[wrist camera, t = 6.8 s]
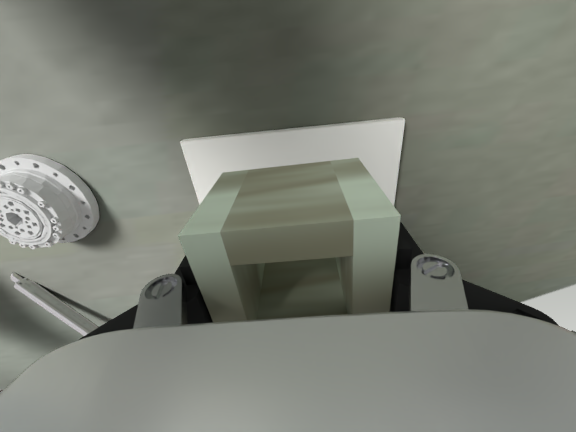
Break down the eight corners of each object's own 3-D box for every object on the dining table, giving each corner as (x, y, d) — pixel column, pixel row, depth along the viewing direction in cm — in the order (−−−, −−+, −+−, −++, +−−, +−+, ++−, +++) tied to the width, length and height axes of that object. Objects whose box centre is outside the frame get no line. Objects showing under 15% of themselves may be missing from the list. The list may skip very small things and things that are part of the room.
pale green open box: (222, 172, 11) (177, 235, 7) (358, 157, 11) (401, 216, 6) (248, 272, 14) (229, 360, 10) (355, 264, 14) (384, 353, 9)
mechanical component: (102, 245, 31) (100, 172, 26) (75, 270, 27) (67, 190, 22) (10, 220, 29) (-9, 138, 24) (-33, 244, 25) (-66, 151, 20)
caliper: (156, 337, 40) (135, 379, 34) (153, 340, 40) (131, 382, 35) (15, 270, 33) (-39, 309, 27) (13, 274, 33) (-41, 314, 28)
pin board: (183, 139, 24) (156, 156, 19) (400, 117, 22) (430, 130, 18) (217, 248, 30) (203, 281, 25) (386, 236, 29) (405, 269, 24)
